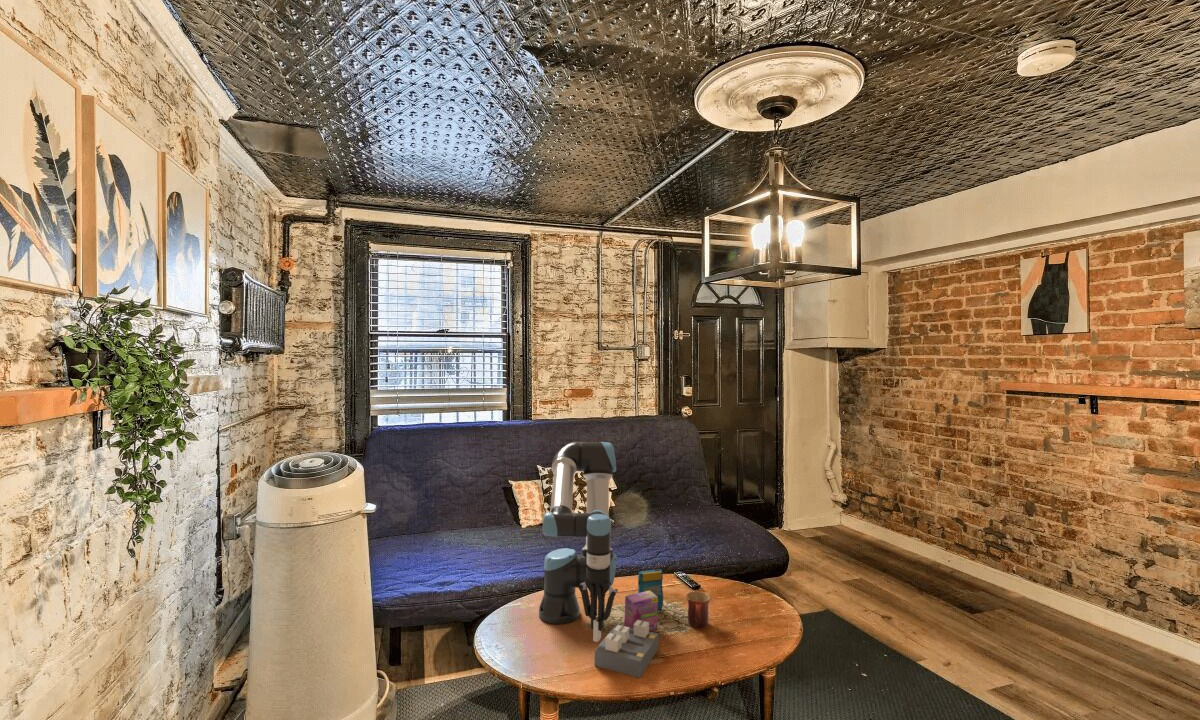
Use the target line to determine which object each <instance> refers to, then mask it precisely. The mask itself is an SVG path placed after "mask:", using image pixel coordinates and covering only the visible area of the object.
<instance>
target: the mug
mask: <svg viewBox="0 0 1200 720" xmlns="http://www.w3.org/2000/svg"><path fill="white" fill-rule="evenodd" d="M685 596H686V602H687V622H688V625H689V626H690V627H692V628H693V627H694V629H699V630H700V629H701V630H702V629H705V628H706V627H707V626H708V624H709V621H710V619H709V613H710V612H709V608H710V607H709V606H710V602H711V598H712V597H711V596H710V594H708V593H706V592H704V591H697V590H695V591H689V592H688V593H686V595H685Z"/></svg>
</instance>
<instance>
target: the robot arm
mask: <svg viewBox="0 0 1200 720" xmlns="http://www.w3.org/2000/svg"><path fill="white" fill-rule="evenodd" d="M551 471H552V473H553V479H552V488H551V489H552V491H551V502H550V510H549V512H544V514H543V516H542V517H543V518H542V533H543V535H544V536H546V537H554V538H556V537H558V538H559V537H580V538H581V537H583V538H585V545H584V546H583V547H582V548H581V553H577V552H576V550H575V549H573V548H568V547H566V548H565V547H563V548H558V549H555V550H552V551H550V552H548V553H547V554H546V555H545V557H544V564H543V565H544V566H543V570H544V572H543V573H544V577H543V579H544V580H543V582H544V583H543V584H544V585H543V596H542V598H541V602H540V604H539V608H538V617H539V619H540V620H542V621H543V622H544V623H548V624H552V625H553V624H554V625H564V624H570V623H573V622H575V621H576V620H577V619H578V618H580V613H581V609H580V604H579V601H578V598H577V594H576V588H578V590H579V592H580V594H581V600H582V604H583V610H584V615H585V617H588V618H590V628H591V630H593V631H592V633H593V635H592V637H593V638H592V641H593V642H595V643H598V642H599V641H600V640H601V639H602V631H603V629H604V626H605V625H604V623H605V621H607V620H608V619H609V618H610V616H611V612H612V609H613V604H614V601H615V598H616V597H615V596H616V594H618V593H619V592H618V591H619V590H618V588H614V587H612V586H613V585H614V581H615V577H616V576H615V575H616V567H617V558H618V556H617V555H616V554H615V553H614V552H613V548H612V547H611V537H612V536H611V533H612V532H611V531H612V524H611V522H612V521H611V517H610V515H609V513H610V511H609V509H610V506H609V505H610V502H609V501H610V498H609V497H610V496H609V494H610V493H609V491H610V490H609V488H610V487H609V485H610V484H609V482H610V480H611V478H613V477H614V476H613V475H614V474H613V473H615V472H617V460H616V453H615V448H614V445H613V444H612V442H606V441H605V442H604V441H572V442H569V443H567V444H566V445H564V446H562V447H561V448H560V449H559V450H558V451H557V452H556V454H555V455H554V457H553V459H552V462H551ZM576 472H582V476H583V478H585V480H586V512H573V497H574V479H575V478H574V477H575V476H574V475H575V474H576ZM607 592H608V597H607V602H606V599H605V598H606V594H607ZM605 602H606V605H605Z"/></svg>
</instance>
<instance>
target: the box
mask: <svg viewBox="0 0 1200 720" xmlns="http://www.w3.org/2000/svg"><path fill="white" fill-rule="evenodd" d="M657 605H658V596H656V595H655V594H654V593H652V592H651V591H650V590H649V591H645V592H641V593H638V592H637V593H633V594H628V595H625V596H624V626H627V627H631V628H634V624H635V622H636V621H637V620H641V621H642V620H643V621H645V622H649V632H651V631H654V630H657V629H658V612H657Z"/></svg>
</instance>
